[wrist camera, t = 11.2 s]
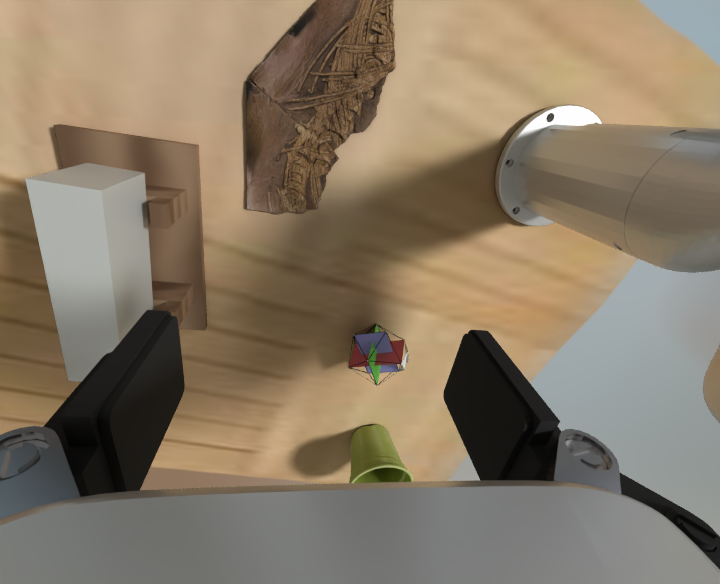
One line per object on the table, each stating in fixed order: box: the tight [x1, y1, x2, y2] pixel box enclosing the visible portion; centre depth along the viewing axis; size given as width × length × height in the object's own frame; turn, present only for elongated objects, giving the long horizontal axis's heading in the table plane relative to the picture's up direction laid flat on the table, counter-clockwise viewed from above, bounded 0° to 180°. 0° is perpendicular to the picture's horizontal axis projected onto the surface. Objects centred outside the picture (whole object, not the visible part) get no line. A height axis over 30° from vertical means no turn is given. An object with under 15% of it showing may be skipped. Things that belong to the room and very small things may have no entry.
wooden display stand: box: [54, 125, 207, 330], centre depth 32 cm, size 11×20×7 cm, turn 171°
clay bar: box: [25, 163, 153, 382], centre depth 27 cm, size 4×16×7 cm, turn 168°
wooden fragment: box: [246, 0, 396, 215], centre depth 31 cm, size 26×11×1 cm, turn 145°
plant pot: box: [349, 424, 413, 483], centre depth 51 cm, size 9×9×9 cm
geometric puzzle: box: [348, 323, 408, 386], centre depth 43 cm, size 7×7×8 cm
